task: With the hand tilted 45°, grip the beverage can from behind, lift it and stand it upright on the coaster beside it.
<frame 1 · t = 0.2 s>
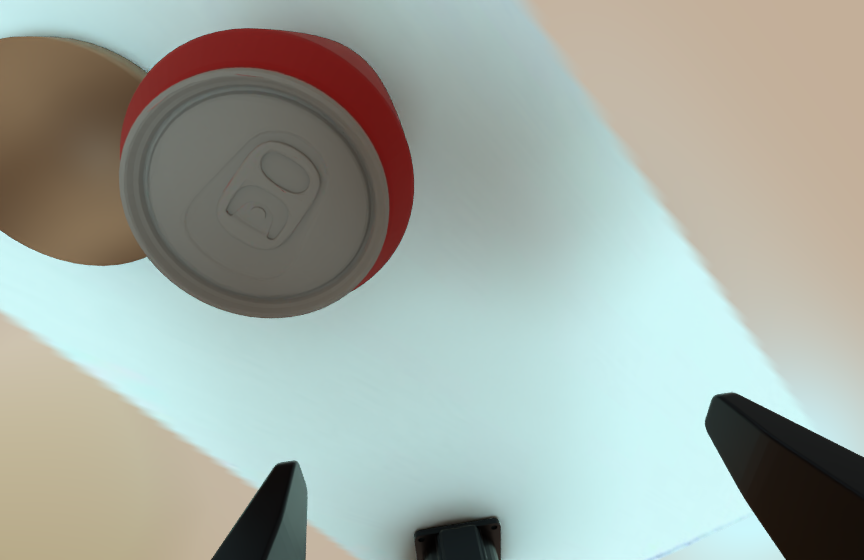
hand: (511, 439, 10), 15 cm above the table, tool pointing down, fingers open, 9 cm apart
beverage can: (317, 121, 20), on the table
coaster: (91, 155, 19), on the table
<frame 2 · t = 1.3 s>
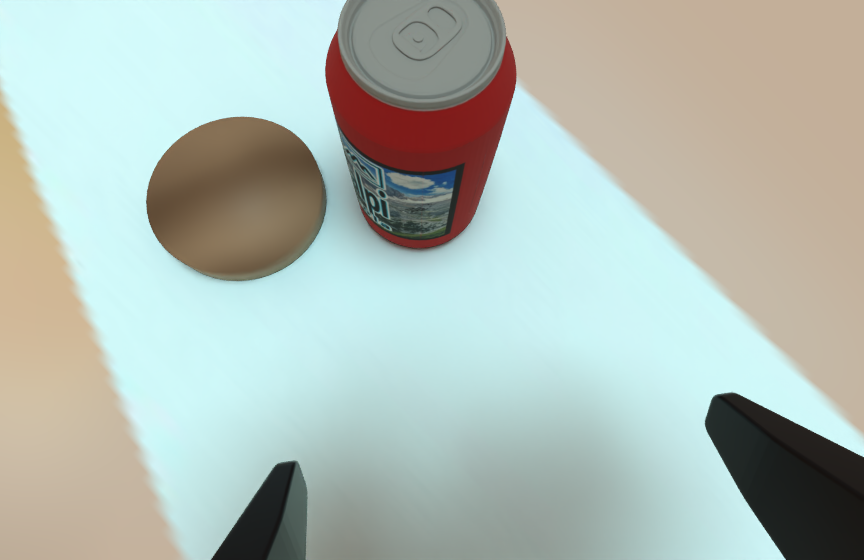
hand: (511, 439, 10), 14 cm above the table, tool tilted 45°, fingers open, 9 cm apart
beverage can: (418, 199, 26), on the table
coaster: (245, 203, 25), on the table
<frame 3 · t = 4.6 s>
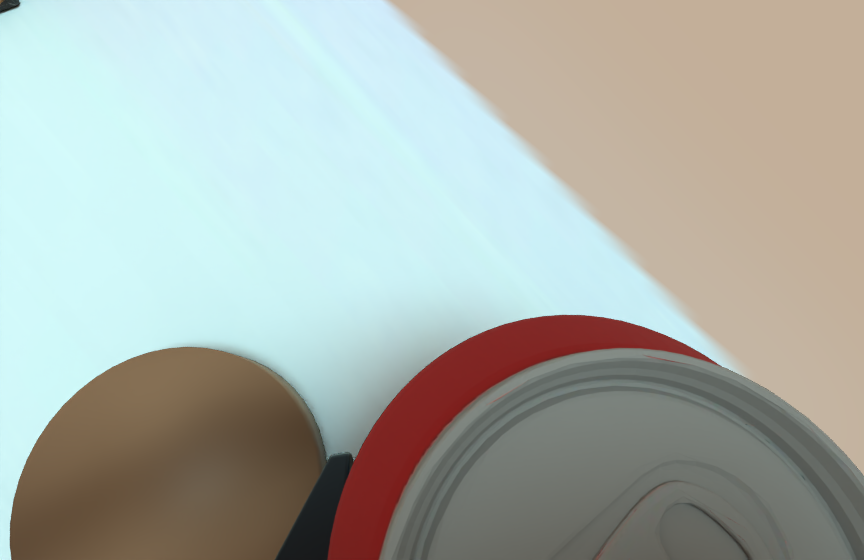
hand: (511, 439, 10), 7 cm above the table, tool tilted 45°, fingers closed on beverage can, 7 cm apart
beverage can: (479, 467, 16), on the table, touching gripper
coaster: (191, 487, 15), on the table
when the fingers open (9 cm above the table, at t = 8.2 s): beverage can stays where it is, resting on coaster.
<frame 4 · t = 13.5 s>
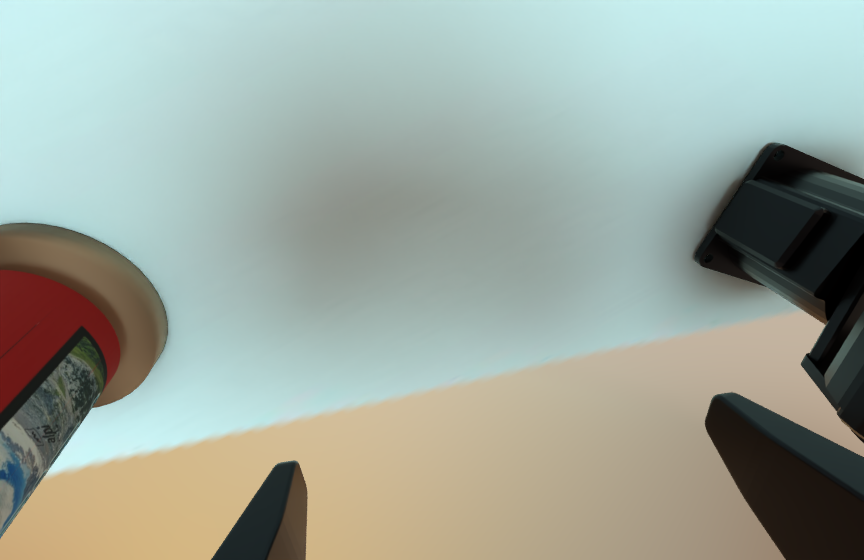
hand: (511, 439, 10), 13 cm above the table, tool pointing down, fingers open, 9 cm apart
beverage can: (45, 326, 20), point 1 cm above the table, touching coaster
coaster: (60, 314, 21), on the table
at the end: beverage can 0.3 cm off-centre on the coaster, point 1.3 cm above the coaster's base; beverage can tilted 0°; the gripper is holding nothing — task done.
